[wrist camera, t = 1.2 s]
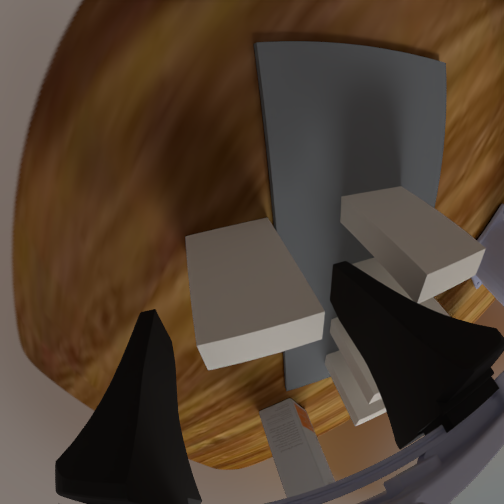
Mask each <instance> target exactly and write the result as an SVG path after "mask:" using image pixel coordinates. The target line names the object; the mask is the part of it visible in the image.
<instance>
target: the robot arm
mask: <svg viewBox="0 0 504 504" xmlns="http://www.w3.org/2000/svg"><path fill="white" fill-rule="evenodd" d="M477 241H478V242H479V243H480V244H482V245H483V246H484V247H485V248H486V250H485V252H484V255H483V258H482V260H481V263H480V265H479V268H478V270H477V273H476V275H475V276H473V277H471V279H472V281H473V283H474V286H475V288H476V289H478V288H479V287H480V286H481V284H483V285H484V286H485V287H486V288H487V289H488V290H489V291H490V292H491V293H492V294H493V295H494V296H495V298H496V299H498V301H499V302H500V303H501V304H502V305H503V306H504V204H501V206H500V207H499V209H498V210H497V212H496V213H495V215H494V216H493V218H492V219H491V221H490V222H489V224H488V225H487V227H486V228H485V230H484V231H483V233H482V234H481V235H480V237H479V238H478V240H477ZM330 302H331V304H332V306H333V308H334V310H335V313H336V315H337V317H338V319H339V321H340V322H341V324H342V325H343V327H344V329H345V330H346V332H347V333H348V335H349V337H350V338H351V340H352V341H353V343H354V344H355V346H356V348H357V349H358V351H359V352H360V354H361V356H362V357H363V359H364V361H365V362H366V364H367V366H368V368H369V370H370V372H371V374H372V377H373V379H374V381H375V383H376V386H377V388H378V390H379V393H380V395H381V398H382V400H383V403H384V406H385V408H386V411H387V414H388V417H389V420H390V423H391V427H392V430H393V433H394V437H395V441H396V444H397V446H398V447H399V449H402V448H404V447H405V446H407V445H409V444H411V443H412V442H414V441H416V440H417V439H419V438H420V437H422V436H424V435H425V436H424V437H423V438H421V439H419V440H418V441H416V442H415V443H413V444H411V445H410V446H408V447H406V448H404V449H403V450H401V451H399V452H397V453H396V454H394V455H392V456H390V457H388V458H386V459H384V460H383V461H381V462H379V463H377V464H375V465H373V466H370V467H368V468H366V469H364V470H362V471H360V472H358V473H355V474H353V475H351V476H348V477H346V478H344V479H341V480H339V481H336V482H334V483H331V484H328V485H326V486H323V487H320V488H317V489H314V490H311V491H308V492H305V493H302V494H299V495H296V496H292V497H289V498H286V499H282V500H278V501H274V502H270V503H265V504H322V503H325V502H328V501H330V500H333V499H335V498H338V497H341V496H343V495H345V494H348V493H350V492H353V491H355V490H357V489H360V488H362V487H364V486H366V485H368V484H370V483H372V482H374V481H376V480H378V479H380V478H382V477H384V476H386V475H388V474H390V473H392V472H394V471H396V470H397V469H399V468H401V467H403V466H404V465H406V464H408V463H409V462H411V461H413V460H414V459H416V458H417V457H419V458H418V461H417V464H416V465H414V466H412V467H410V468H409V469H407V470H405V471H403V472H401V473H400V474H398V475H396V476H395V477H393V478H391V479H389V480H387V481H386V482H384V486H385V488H386V491H384V492H382V493H380V494H378V495H376V496H373V497H371V498H369V499H367V500H365V501H362V502H360V503H358V504H451V503H450V502H451V501H452V500H453V499H454V498H456V497H457V496H458V495H459V494H460V493H461V492H462V491H463V490H464V489H465V488H466V487H467V486H468V485H469V484H470V483H471V482H472V481H473V480H474V479H475V478H476V477H477V476H478V475H479V473H480V472H481V471H482V470H483V469H484V468H485V467H486V465H487V464H488V463H489V462H490V461H491V460H492V459H493V457H494V456H495V455H496V454H497V453H498V451H499V450H500V449H501V448H502V446H503V445H504V371H503V372H502V373H501V374H500V375H499V376H498V377H497V378H496V379H495V380H494V379H493V378H492V377H491V376H492V375H493V374H494V372H493V370H492V369H491V366H492V365H493V364H494V363H495V361H496V360H497V359H498V358H499V356H500V355H501V354H502V352H503V351H504V337H503V336H502V335H501V333H500V332H499V331H498V330H497V329H496V328H492V327H487V326H482V325H477V324H473V323H469V322H465V321H462V320H458V319H455V318H452V317H449V316H447V315H444V314H441V313H439V312H436V311H434V310H431V309H429V308H427V307H425V306H423V305H421V304H418V303H416V302H414V301H412V300H410V299H409V298H407V297H405V296H403V295H401V294H399V293H398V292H396V291H394V290H392V289H391V288H389V287H387V286H386V285H384V284H382V283H381V282H379V281H378V280H376V279H374V278H373V277H371V276H370V275H368V274H367V273H365V272H363V271H362V270H360V269H359V268H357V267H355V266H354V265H352V264H351V263H349V262H347V261H343V262H339V263H336V264H333V269H332V281H331V292H330ZM55 483H56V492H57V494H58V495H60V496H63V497H66V498H69V499H72V500H75V501H79V502H83V503H86V504H201V502H202V499H201V497H200V494H199V491H198V489H197V486H196V483H195V480H194V477H193V474H192V471H191V467H190V464H189V460H188V457H187V453H186V449H185V445H184V441H183V436H182V432H181V427H180V422H179V414H178V403H177V386H176V368H175V359H174V352H173V346H172V341H171V339H170V337H169V335H168V333H167V331H166V330H165V328H164V326H163V324H162V322H161V320H160V318H159V316H158V314H157V312H156V310H155V309H154V310H149V311H145V312H141V313H140V315H139V317H138V320H137V322H136V325H135V327H134V330H133V332H132V335H131V337H130V340H129V342H128V345H127V347H126V350H125V352H124V354H123V357H122V359H121V362H120V364H119V366H118V368H117V370H116V372H115V375H114V377H113V379H112V381H111V383H110V385H109V387H108V389H107V391H106V393H105V394H104V396H103V398H102V400H101V402H100V403H99V405H98V406H97V408H96V410H95V411H94V413H93V415H92V416H91V418H90V419H89V421H88V422H87V424H86V425H85V426H84V428H83V429H82V431H81V432H80V433H79V435H78V436H77V438H76V439H75V440H74V441H73V443H72V444H71V445H70V446H69V447H68V448H67V449H66V451H65V452H64V453H63V454H62V455H61V456H60V458H58V460H57V461H56V465H55Z"/></svg>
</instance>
